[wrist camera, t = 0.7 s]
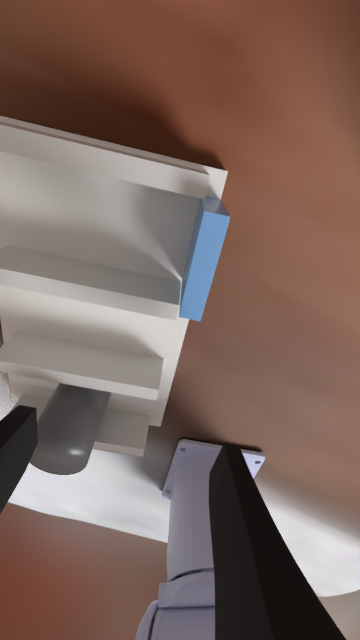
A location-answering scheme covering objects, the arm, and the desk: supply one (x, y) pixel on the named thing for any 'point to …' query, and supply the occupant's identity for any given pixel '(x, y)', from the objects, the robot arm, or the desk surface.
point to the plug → (69, 429)
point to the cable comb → (102, 271)
